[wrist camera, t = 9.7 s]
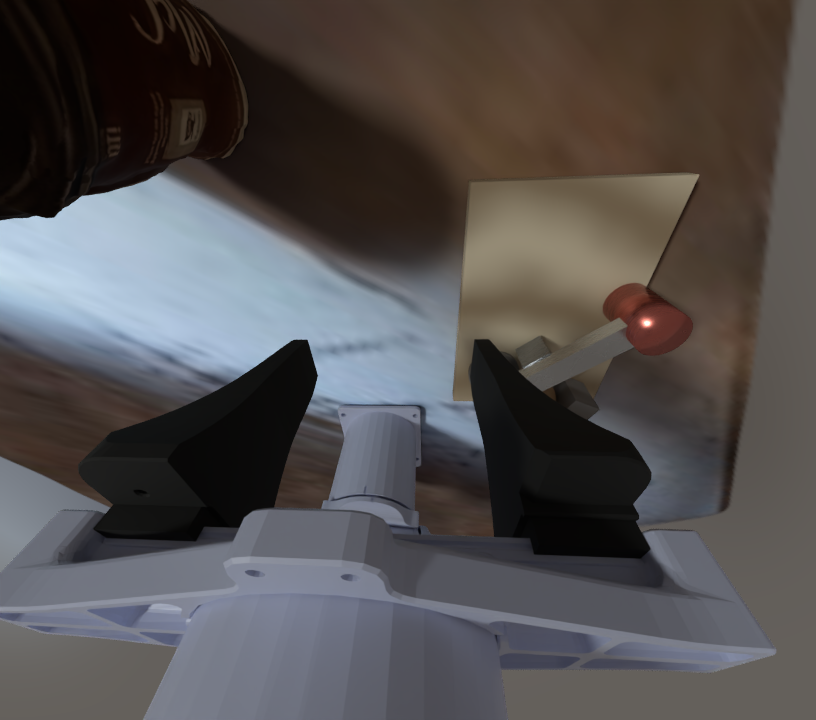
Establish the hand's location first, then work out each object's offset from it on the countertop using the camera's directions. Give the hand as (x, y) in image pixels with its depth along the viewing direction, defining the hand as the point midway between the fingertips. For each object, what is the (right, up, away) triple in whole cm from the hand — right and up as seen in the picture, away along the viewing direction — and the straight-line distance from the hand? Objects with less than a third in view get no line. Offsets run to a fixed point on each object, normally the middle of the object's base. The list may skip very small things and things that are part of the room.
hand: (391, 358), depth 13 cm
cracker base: (+11, +3, +10) cm, 15 cm away
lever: (+11, +1, +9) cm, 15 cm away
